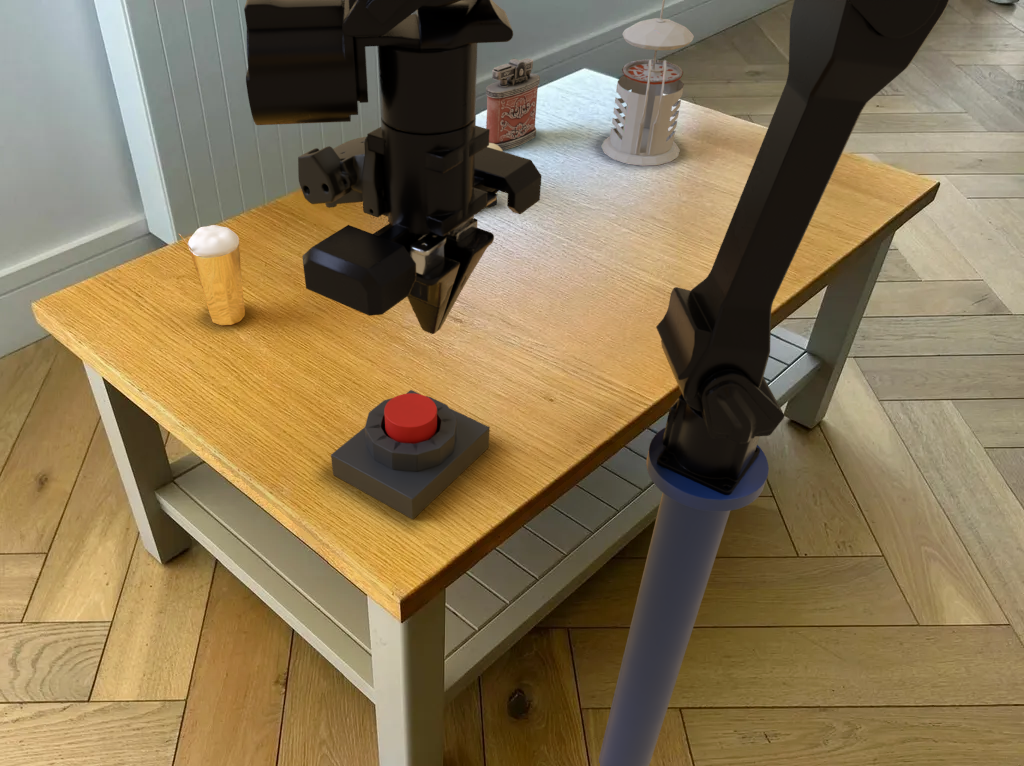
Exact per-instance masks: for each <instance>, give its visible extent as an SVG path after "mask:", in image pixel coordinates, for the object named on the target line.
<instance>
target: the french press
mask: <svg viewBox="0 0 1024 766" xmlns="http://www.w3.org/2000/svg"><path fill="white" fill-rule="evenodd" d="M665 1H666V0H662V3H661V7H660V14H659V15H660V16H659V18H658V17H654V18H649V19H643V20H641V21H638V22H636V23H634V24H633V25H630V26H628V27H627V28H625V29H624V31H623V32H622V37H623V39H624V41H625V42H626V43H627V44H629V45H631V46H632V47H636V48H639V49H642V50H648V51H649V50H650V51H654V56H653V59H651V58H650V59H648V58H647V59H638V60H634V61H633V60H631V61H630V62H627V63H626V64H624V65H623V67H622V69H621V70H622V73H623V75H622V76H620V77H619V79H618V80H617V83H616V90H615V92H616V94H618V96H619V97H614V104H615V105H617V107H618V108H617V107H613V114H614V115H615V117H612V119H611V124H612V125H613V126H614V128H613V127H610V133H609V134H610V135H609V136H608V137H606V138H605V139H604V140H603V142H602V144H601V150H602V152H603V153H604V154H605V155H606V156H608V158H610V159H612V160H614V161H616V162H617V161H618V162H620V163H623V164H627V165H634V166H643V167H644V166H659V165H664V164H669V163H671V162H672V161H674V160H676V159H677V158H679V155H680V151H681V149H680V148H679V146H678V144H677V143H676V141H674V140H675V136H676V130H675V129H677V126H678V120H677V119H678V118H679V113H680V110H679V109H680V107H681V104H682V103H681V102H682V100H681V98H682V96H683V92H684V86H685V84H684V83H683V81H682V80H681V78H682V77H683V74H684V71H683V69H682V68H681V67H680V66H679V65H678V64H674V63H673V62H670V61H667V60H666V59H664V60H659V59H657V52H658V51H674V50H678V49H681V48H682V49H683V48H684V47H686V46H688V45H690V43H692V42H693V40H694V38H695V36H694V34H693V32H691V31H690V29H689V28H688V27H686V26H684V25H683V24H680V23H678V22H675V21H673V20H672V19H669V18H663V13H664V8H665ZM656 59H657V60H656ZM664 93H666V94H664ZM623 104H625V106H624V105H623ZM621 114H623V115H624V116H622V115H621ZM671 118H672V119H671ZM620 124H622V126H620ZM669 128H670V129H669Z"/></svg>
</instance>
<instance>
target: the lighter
mask: <svg viewBox="0 0 1024 766" xmlns="http://www.w3.org/2000/svg"><path fill="white" fill-rule="evenodd" d="M533 66H534V59H531V58H529V57H528V58H523V59H516V58H511V59H510V60H509V61H508V63H504V64H501V65H498V66H495V67H493V69H492V76H491V77H492V79H493V80H495V81H494V82H492V83H490V84H488V85H487V86H485V87H486V88H485V95H486V96H487V97H486V99H487V100H486V125H485V126H486V127H485V128H486V129H489V130H490V131H489V143H494V144H496V145H498V146H499V147H500V148H501V149H502V150H503V151H505V150H509V149H512V148H515V147H518V146H521V145H523V144H525V143H527V142H529V141H532V140H534V138H536V134H537V128H536V117H537V104H538V103H537V101H538V90H539V89H538V87H539V85H540V83H541V82H540V81H541V76H540V75H538V74H537V73H534V72H532V70H533Z"/></svg>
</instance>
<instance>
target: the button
mask: <svg viewBox="0 0 1024 766" xmlns="http://www.w3.org/2000/svg"><path fill="white" fill-rule="evenodd" d="M426 396H427V395H424V394H421V393H419V394H415V393H408V394H406V393H402V394H399V395H396V396H394V397H391V398H392V399H391V398H390V399H391V400H390V401H389V402H388V403H387V404H386V406H385V409H384V414H385V430H386V433H387V434H388V436H389V437H390V438H392V439H393V440H395V441H397V442H400V443H411V444H416V443H419V442H423V441H426V440H428V439H430V438H431V437H432V436H433V435H434V434H435V432H436V430H437V407H436V405H435V403H434V402H433V401H432V400H431V399H430V398H428V397H429V396H428V397H426Z"/></svg>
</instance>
